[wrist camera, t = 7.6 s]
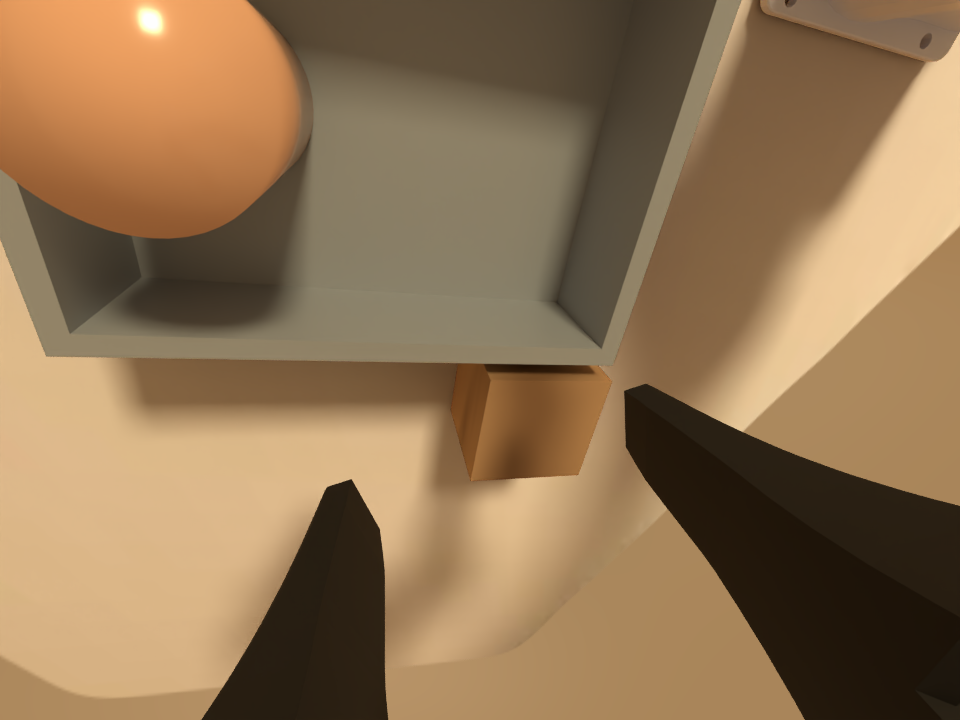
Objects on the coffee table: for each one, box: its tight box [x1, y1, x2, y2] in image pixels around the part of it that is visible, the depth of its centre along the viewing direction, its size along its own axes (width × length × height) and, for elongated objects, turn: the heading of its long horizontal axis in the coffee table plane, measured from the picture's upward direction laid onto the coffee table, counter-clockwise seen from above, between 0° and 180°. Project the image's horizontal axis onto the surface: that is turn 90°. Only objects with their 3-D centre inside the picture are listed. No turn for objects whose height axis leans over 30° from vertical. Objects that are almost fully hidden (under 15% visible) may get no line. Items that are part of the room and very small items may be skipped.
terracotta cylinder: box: [0, 0, 314, 239], centre depth 10 cm, size 5×5×7 cm
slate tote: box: [0, 0, 741, 366], centre depth 13 cm, size 17×13×5 cm
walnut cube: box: [451, 363, 612, 481], centre depth 19 cm, size 5×5×5 cm
